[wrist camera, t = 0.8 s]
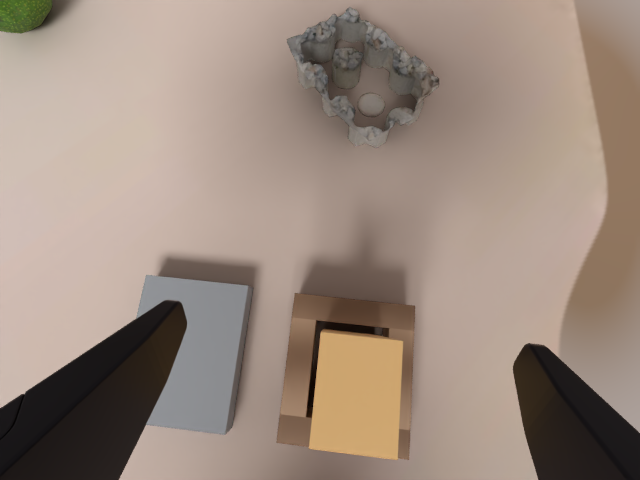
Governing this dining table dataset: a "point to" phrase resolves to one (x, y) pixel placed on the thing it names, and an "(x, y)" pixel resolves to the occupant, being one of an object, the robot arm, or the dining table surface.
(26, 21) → the avocado
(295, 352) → the brown square frame
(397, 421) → the amber plug
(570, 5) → the dining table surface
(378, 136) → the egg carton
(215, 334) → the grey rubber mat
